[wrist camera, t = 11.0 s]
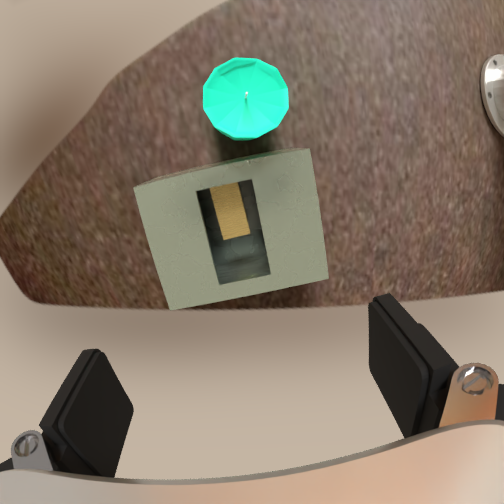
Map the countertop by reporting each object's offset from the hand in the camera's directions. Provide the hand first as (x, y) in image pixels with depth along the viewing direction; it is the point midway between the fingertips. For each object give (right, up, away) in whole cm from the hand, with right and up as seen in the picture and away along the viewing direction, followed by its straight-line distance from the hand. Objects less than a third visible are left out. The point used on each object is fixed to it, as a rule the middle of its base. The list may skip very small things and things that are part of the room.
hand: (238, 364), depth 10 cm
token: (-2, +10, +18) cm, 21 cm away
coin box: (-1, +8, +23) cm, 24 cm away
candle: (-1, +18, +20) cm, 26 cm away
